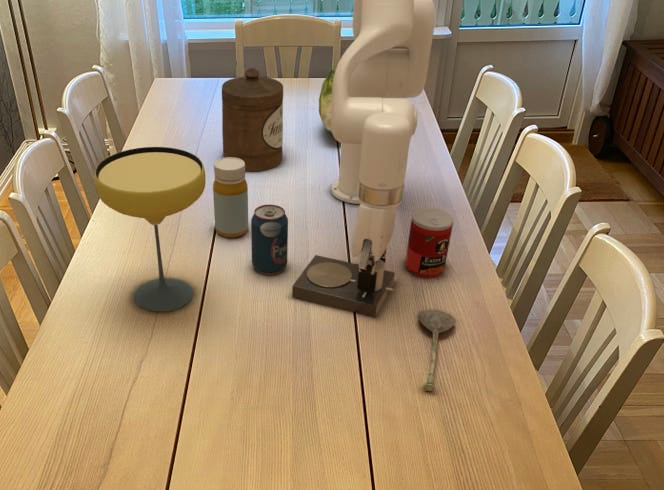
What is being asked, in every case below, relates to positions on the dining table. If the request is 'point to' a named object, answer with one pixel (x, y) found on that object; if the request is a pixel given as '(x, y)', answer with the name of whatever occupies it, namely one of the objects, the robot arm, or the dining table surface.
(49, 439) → the dining table surface
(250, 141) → the wooden container
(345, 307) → the hob
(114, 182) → the cocktail glass
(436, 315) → the soupspoon
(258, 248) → the soda can
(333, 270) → the burner ring
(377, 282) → the hob knob
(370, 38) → the robot arm
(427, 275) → the canned food
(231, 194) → the bottle
